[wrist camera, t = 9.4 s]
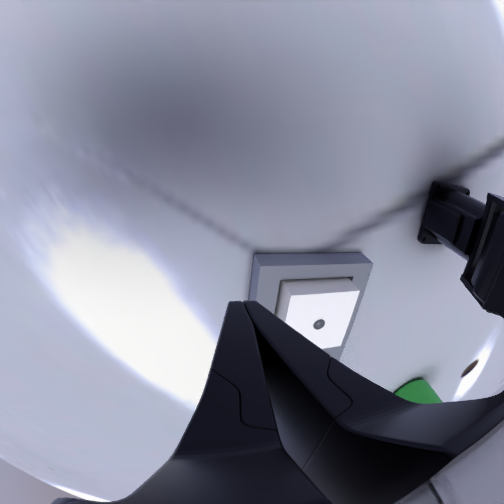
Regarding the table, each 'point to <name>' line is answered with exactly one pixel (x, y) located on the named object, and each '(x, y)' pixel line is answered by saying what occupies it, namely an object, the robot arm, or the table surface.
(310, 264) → the board
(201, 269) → the table surface
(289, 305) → the tile
